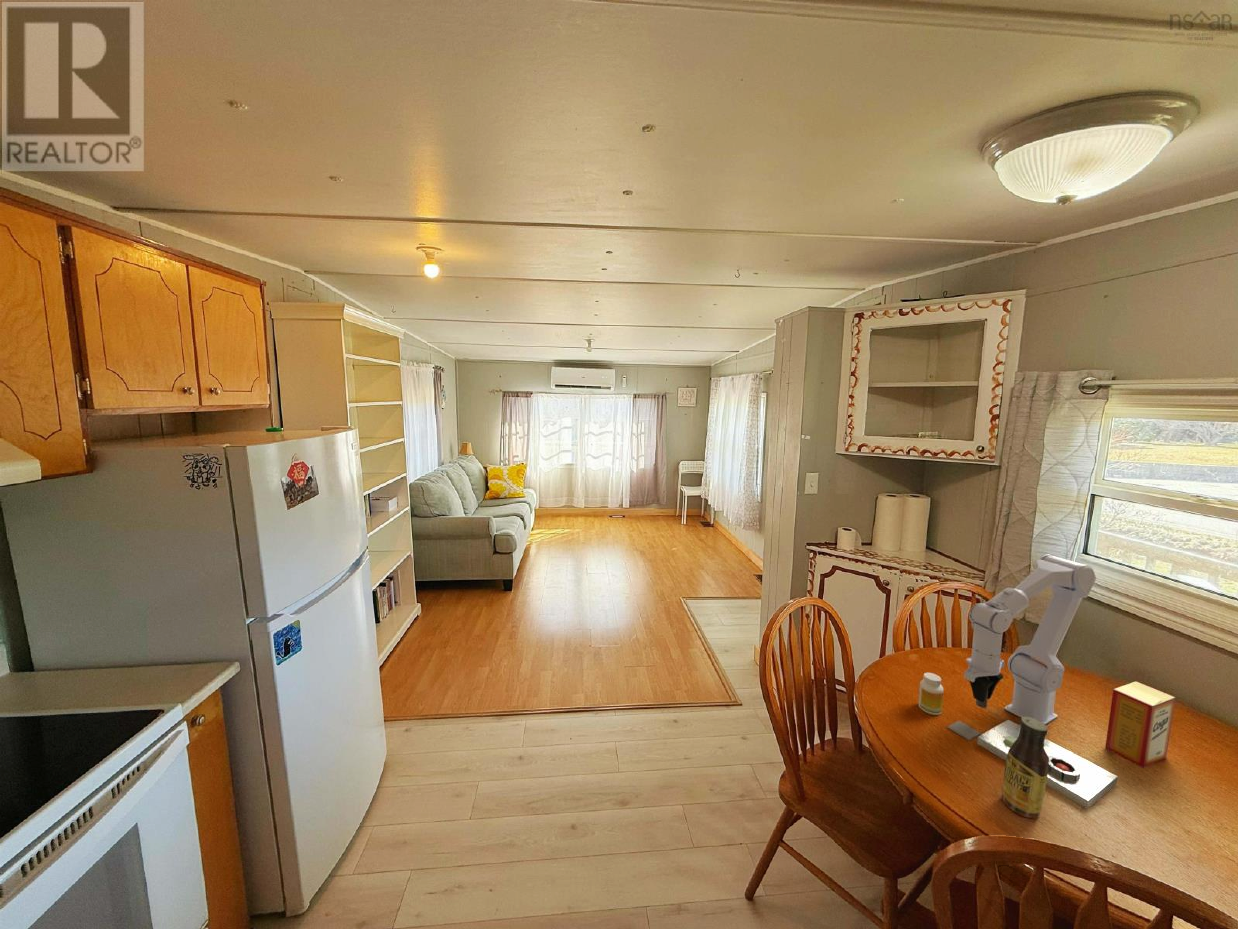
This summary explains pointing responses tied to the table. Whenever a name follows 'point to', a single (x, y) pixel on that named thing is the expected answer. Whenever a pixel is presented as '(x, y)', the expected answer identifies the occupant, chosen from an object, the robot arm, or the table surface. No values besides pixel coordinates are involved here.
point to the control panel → (1076, 784)
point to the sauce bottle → (1026, 770)
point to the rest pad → (964, 730)
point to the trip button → (1062, 767)
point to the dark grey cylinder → (982, 704)
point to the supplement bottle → (931, 694)
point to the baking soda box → (1140, 723)
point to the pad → (1010, 740)
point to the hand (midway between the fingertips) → (981, 698)
